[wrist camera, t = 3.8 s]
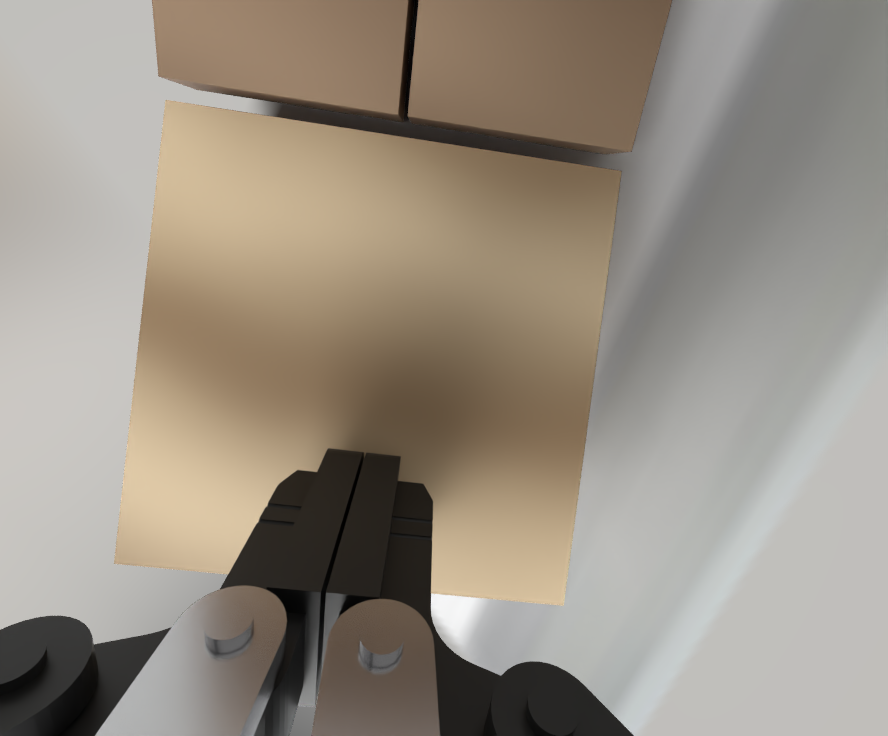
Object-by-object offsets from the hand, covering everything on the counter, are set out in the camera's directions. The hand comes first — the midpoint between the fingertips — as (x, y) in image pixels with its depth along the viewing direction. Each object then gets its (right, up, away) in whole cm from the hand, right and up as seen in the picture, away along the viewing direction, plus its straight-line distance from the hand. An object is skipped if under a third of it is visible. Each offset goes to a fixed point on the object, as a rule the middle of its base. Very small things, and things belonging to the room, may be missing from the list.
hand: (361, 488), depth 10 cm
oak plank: (0, +3, +2) cm, 3 cm away
